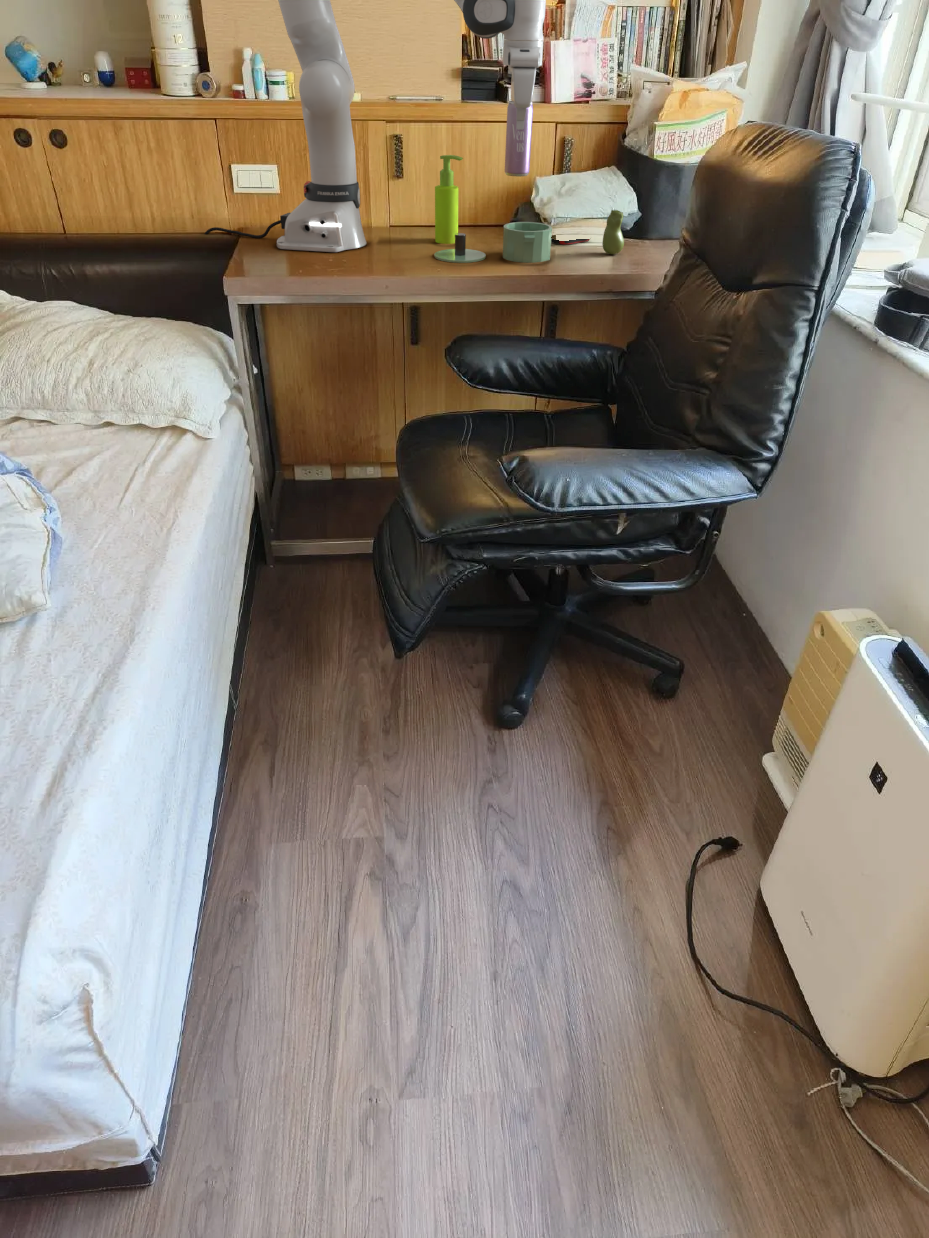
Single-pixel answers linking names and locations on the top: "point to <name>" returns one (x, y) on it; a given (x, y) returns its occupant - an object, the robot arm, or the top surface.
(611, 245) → the pear
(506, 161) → the beverage can
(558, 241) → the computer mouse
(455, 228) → the soap dispenser
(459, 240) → the pot lid
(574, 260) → the top surface
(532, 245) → the pot
